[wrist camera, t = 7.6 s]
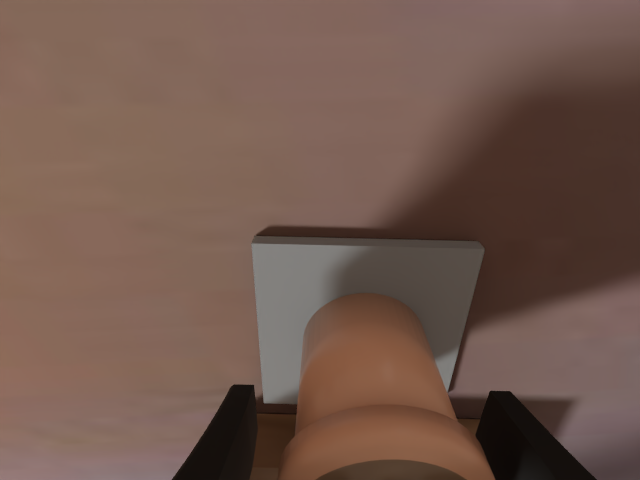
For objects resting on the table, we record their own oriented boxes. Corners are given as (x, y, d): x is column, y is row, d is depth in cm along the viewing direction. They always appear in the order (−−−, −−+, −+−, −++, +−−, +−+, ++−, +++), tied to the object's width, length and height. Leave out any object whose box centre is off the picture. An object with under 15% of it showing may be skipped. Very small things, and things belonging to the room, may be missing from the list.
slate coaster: (439, 396, 16) (443, 407, 15) (265, 391, 16) (263, 403, 16) (478, 241, 12) (485, 249, 12) (254, 235, 12) (251, 243, 12)
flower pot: (422, 392, 15) (522, 725, 7) (295, 390, 15) (265, 717, 8) (443, 285, 13) (623, 620, 5) (291, 283, 13) (240, 610, 5)
